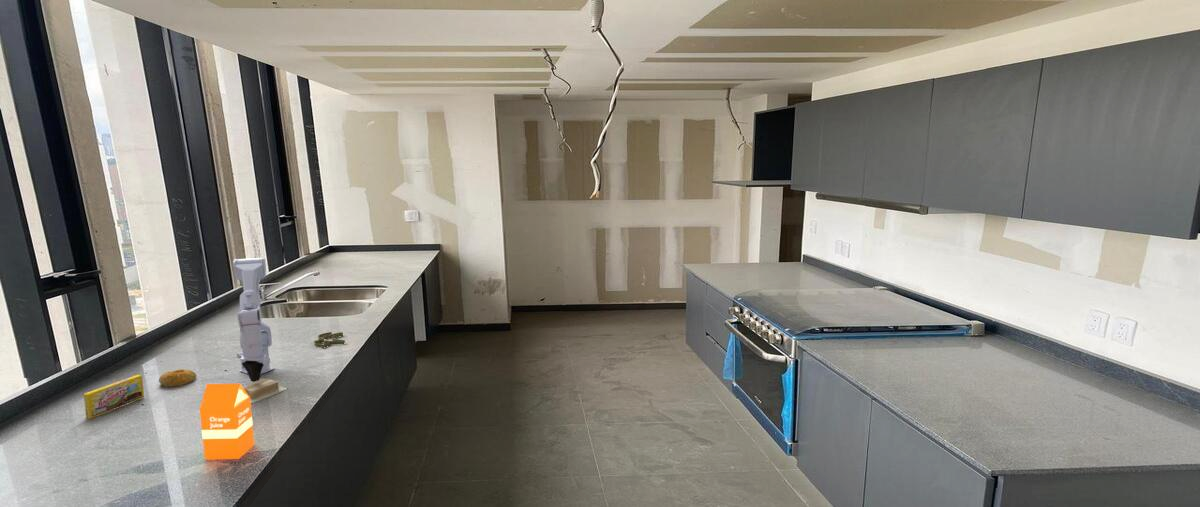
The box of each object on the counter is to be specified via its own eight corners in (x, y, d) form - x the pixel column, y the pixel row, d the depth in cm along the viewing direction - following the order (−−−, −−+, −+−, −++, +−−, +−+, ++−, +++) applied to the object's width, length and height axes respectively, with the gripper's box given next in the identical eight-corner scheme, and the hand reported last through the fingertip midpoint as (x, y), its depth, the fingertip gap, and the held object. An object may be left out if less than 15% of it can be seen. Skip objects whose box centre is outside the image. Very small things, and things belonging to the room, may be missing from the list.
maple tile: (239, 387, 181) (252, 391, 178) (264, 378, 189) (278, 381, 186) (240, 395, 181) (253, 399, 179) (265, 386, 190) (278, 389, 187)
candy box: (91, 419, 163) (87, 394, 162) (85, 419, 164) (81, 393, 163) (145, 397, 179) (142, 374, 178) (140, 397, 180) (137, 373, 178)
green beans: (345, 346, 234) (345, 342, 234) (314, 350, 228) (314, 346, 228) (343, 334, 250) (342, 330, 249) (314, 338, 244) (314, 334, 244)
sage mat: (235, 399, 179) (235, 398, 179) (272, 385, 191) (272, 384, 191) (250, 403, 176) (250, 403, 176) (287, 389, 188) (287, 388, 188)
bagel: (203, 379, 195) (202, 366, 194) (169, 390, 185) (167, 377, 185) (187, 374, 199) (185, 362, 198) (153, 385, 189) (151, 373, 188)
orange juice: (222, 444, 151) (215, 378, 148) (254, 444, 152) (248, 377, 148) (204, 459, 143) (196, 389, 140) (238, 459, 144) (232, 389, 141)
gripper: (226, 343, 181) (229, 380, 183) (254, 349, 175) (257, 388, 178) (247, 337, 188) (250, 373, 190) (274, 343, 182) (277, 381, 184)
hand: (255, 380), depth 184 cm, fingers closed
